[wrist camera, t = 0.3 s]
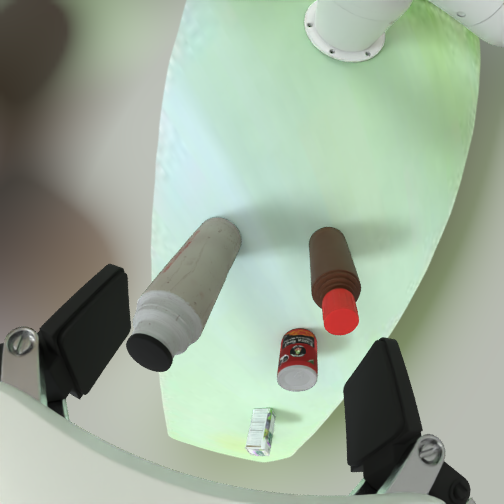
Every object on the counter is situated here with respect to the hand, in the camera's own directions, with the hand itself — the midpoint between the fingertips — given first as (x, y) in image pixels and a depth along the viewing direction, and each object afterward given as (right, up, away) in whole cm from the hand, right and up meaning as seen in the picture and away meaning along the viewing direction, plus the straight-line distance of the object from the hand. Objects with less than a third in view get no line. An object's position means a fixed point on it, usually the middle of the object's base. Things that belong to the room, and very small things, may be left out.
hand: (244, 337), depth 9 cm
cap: (+10, -3, +22) cm, 24 cm away
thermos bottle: (-5, +5, +39) cm, 40 cm away
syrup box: (+4, -45, +63) cm, 78 cm away
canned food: (+10, -16, +47) cm, 51 cm away
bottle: (+13, +4, +36) cm, 39 cm away
